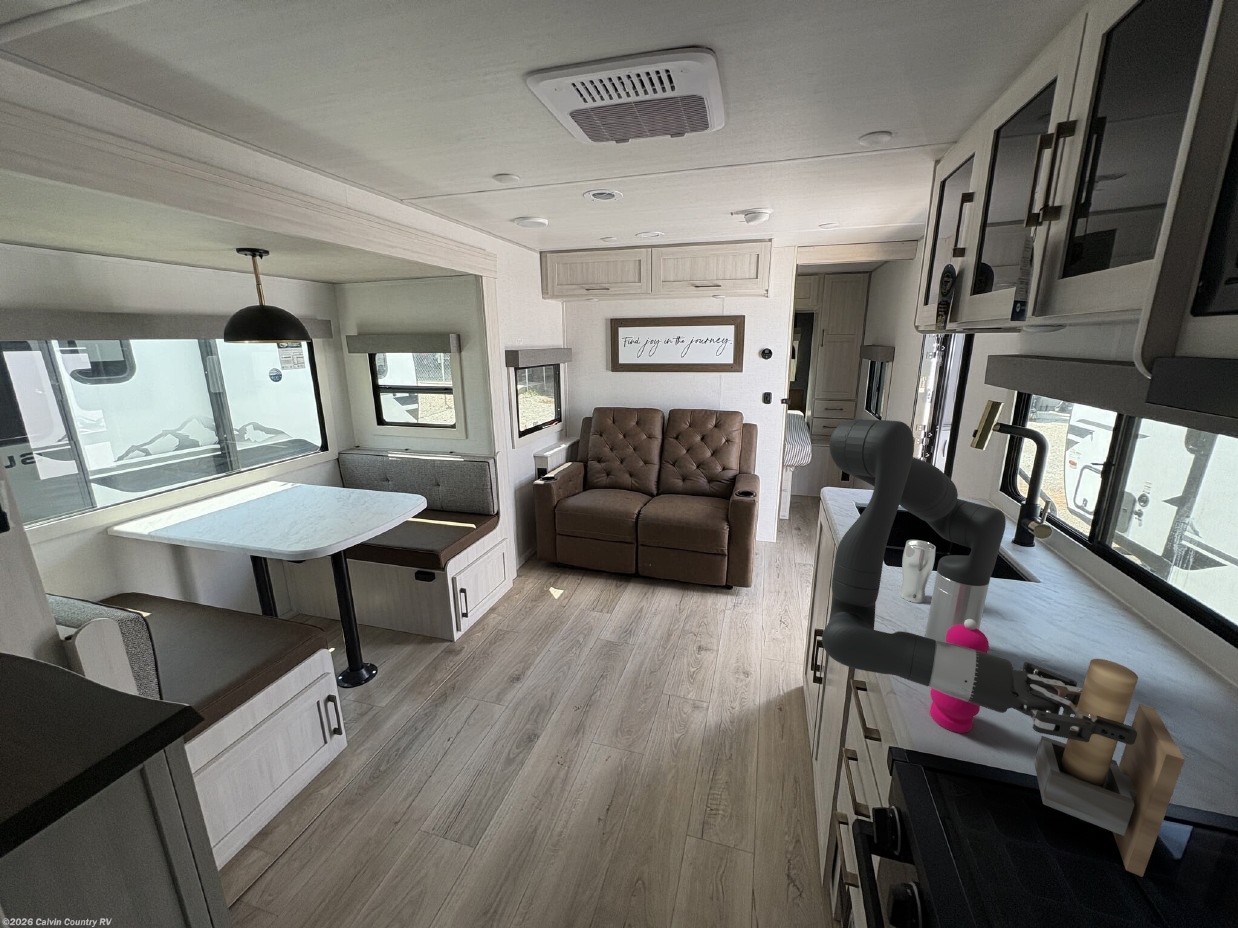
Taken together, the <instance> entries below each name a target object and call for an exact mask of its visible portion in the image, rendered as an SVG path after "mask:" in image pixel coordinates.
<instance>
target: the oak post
mask: <svg viewBox="0 0 1238 928" xmlns="http://www.w3.org/2000/svg"><path fill="white" fill-rule="evenodd" d="M1138 679H1139V676H1138V674H1136V672H1134V671H1133V670H1132V669H1130V668H1128V667H1127V666H1125V665H1123V664H1120V663H1118V662H1114V661H1112V660H1107V659H1104V658H1093V659H1091V660H1090V661H1089V665H1088V668H1087V672H1086V675H1085V678H1084V683H1083V684H1082V685H1083V686H1082V692H1081V695H1080V699H1079V702H1078V706H1077V707H1076V708H1079V709H1081V710H1084V711H1086V712H1088V713H1091V714H1093V715H1095V716H1100V717H1103V718H1106V719H1109V720H1113V721H1116V722H1119V723H1123V724H1125V719H1126V718H1127V714H1128V711H1129V708H1130V705H1131V702H1132V699H1133V696H1134V693H1135V689H1136V686H1137V683H1138ZM1073 717H1075V718H1081V717H1078V716H1076V715H1074V716H1073ZM1081 719H1083V718H1081ZM1070 730H1073V731H1078V730H1076V729H1073V728H1070ZM1118 742H1119V741H1116V740H1113V739H1110V738H1107V737H1104V736H1101V735H1097V734H1093V735H1091V737H1090V740H1089V742H1083V741H1078V740H1073V739H1068V738H1067V740H1066V742H1065V744H1066V747H1065V750H1064V753H1063V757H1062V760H1061V764H1062V766H1063V767H1064V769H1065V770H1066V771H1067V772H1069V773H1070V774H1071V775H1072V776H1074V777H1076V778H1077V779H1079V780H1082V781H1084V782H1087V783H1090V784H1093V785H1103V784H1104V783H1105V780H1106V776H1107V773H1108V770H1109V767H1110V764H1111V761H1112V760H1113V758H1114V754H1115V752H1116V749H1117V748H1116V747H1117V745H1118Z"/></svg>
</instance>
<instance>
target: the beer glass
mask: <svg viewBox="0 0 1238 928" xmlns="http://www.w3.org/2000/svg"><path fill="white" fill-rule="evenodd" d="M936 548H937V547H936V546H935V545H934V544H932V543H931V542H928V541H925V540H919V539H908V540H906V542H905V547H904V550H903V554H902V563H901V566H902V567H901V568H902V569H901V570H902V581H901V582H902V583H901V586H900V589H899V590H898V596H899V595H900V596H899V598H901V597H902V598H901V599H903V598H904V599H903V600H904V601H908V602H910V601H911V602H910V603H916V604H922V603H924V602H926V587H927V583H928V581H929V579H930V577H931V574H932V572H933V569H934V566H935V565H934V564H935V558H936Z"/></svg>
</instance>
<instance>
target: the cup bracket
mask: <svg viewBox="0 0 1238 928" xmlns="http://www.w3.org/2000/svg"><path fill="white" fill-rule="evenodd" d="M1131 726H1132V727H1134V728H1135V730H1136V732H1137V737H1136V740H1135V743H1134V744H1132V745H1129V744H1126V743H1125V745H1124V749H1123V752H1122V756H1121V758H1120V762H1119V765H1118V762H1117V760H1115V759H1112V761H1111V764H1110V767H1109V770H1108V773H1107V776H1106V780H1105V783H1104V784H1103V785H1093V784H1090V783H1087V782H1084V781H1082V780H1079V779H1077V778H1076V777H1074V776H1072V775H1071V774H1070V773H1069V772H1067V771H1066V770H1065V769H1064V767H1063V766H1062V764H1061V760H1062V757H1063V753H1064V750H1065V747H1066V742H1065V743H1064V742H1061V741H1058V740H1055V739H1054V738H1050V737H1047V736H1044V735H1041V736H1040V741H1039V744H1038V748H1037V752H1036V755H1035V758H1034V763H1033V764H1034V770H1035V773H1036V778H1037V783H1038V788H1039V791H1040V796H1041V800H1042V804H1043V805H1044V806H1046V807H1050V808H1052V809H1054V810H1057V811H1060V812H1061V813H1065V814H1067V815H1070V816H1072V817H1075V818H1077V819H1080V820H1082V821H1084V822H1087V823H1090V824H1092V825H1095V826H1098V827H1100V828H1102V829H1106V830H1108V831H1109V832H1110V831H1111V832H1112V834H1113V836H1114V839H1115V843H1116V845H1117V848H1118V850H1119V851H1118V852H1119V853H1120V857H1121V860H1122V862H1123V866H1124V868H1125V870H1126V871H1127V872H1129V873H1132V874H1135V875H1137V876H1139V877H1141V878H1143V877H1144V874H1145V872H1146V868H1147V866H1148V864H1149V862H1150V858H1151V856H1152V852H1153V849H1154V847H1155V845H1156V844H1155V843H1156V841H1157V838H1158V836H1159V832H1160V830H1161V827H1162V824H1163V822H1164V819H1165V816H1166V813H1167V811H1168V808H1169V805H1170V802H1171V799H1172V797H1173V794H1174V790H1175V789H1176V786H1177V783H1178V780H1179V777H1180V774H1181V772H1182V768H1183V766H1184V763H1185V761H1186V759H1185V758H1184V756H1183V754H1182V752H1181V750H1180V749H1179V747H1178V746H1177V743H1176V742H1175V740H1174V738H1173V737H1172V735H1171V733H1170V732H1169V730H1168V728H1167V726H1166V725H1165V723H1164V721H1163V720H1162V718H1161V717H1160V714H1159V713H1158V712H1157V709H1156V708H1155V707H1152V706H1149V705H1145V704H1141V703H1138V705H1137V709H1136V711H1135V715H1134V718H1133V721H1132V724H1131Z"/></svg>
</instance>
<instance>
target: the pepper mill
mask: <svg viewBox="0 0 1238 928" xmlns="http://www.w3.org/2000/svg"><path fill="white" fill-rule="evenodd" d="M946 642H947V643H952V644H957V645H960V646H964V647H967V648H971V649H974V650H978V651H981V652H985V653H988V652H989V649H990V643H989V640H988V637H987V636H986V634H984V632H983V631H982V630H980V628H979V629H977V623H976V622H975V621H974V620H972V619H967V620H965V622H964V624H959V625H954V626H952V627H951V628H950V629H949V630H948V631H947V634H946ZM929 691H930V692H929V693H930V697H931V698H930V699H931V700H932V702H931V704H930V709H929V714H930V715H929V716H930V717H931V719H932V720H933V721H934V722H935V723H936V724H937V725H938V726H940V727H942V728H943V729H946V730H948V731H951V732H953V733H954V732H955V733H959V734H964V733H965V734H966V733H968V732H970V731H972V728H973V723H974V718H975V716H977V715H978V714H979V712H980V708H981V706H979V705H976V704H973V703H970V702H967V701H964V700H961V699H958V698H955V697H952V696H949V695H946V694H944V693H942V692H939V691H937V690H935V689H933V688H930V690H929Z"/></svg>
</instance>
